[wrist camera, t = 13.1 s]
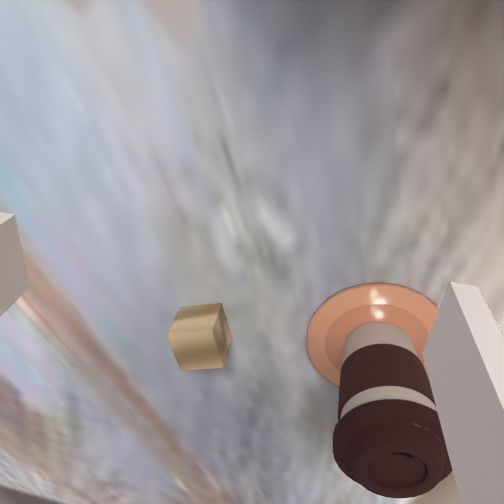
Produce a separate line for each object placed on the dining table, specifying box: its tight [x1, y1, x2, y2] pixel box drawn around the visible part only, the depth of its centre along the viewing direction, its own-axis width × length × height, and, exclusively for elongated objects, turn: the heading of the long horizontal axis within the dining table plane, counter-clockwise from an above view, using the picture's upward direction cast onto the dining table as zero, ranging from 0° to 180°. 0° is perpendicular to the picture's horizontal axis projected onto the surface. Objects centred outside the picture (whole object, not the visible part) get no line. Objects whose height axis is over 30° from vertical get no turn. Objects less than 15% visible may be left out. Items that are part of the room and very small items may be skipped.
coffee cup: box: [333, 322, 452, 498], centre depth 41 cm, size 10×10×15 cm
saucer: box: [307, 283, 439, 387], centre depth 48 cm, size 15×15×1 cm
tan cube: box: [167, 303, 232, 371], centre depth 49 cm, size 5×5×5 cm
